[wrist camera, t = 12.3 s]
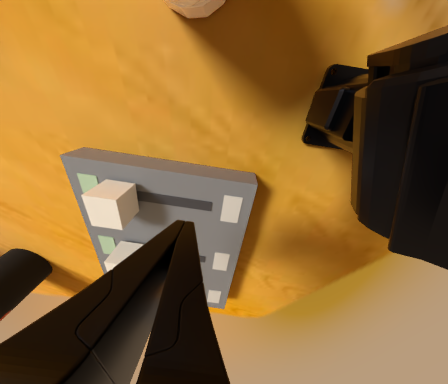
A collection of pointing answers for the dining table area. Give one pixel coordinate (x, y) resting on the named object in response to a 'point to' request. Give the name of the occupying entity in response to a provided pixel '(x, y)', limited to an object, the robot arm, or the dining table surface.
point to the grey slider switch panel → (172, 207)
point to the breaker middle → (120, 253)
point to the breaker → (111, 204)
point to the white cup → (194, 7)
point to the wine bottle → (19, 277)
